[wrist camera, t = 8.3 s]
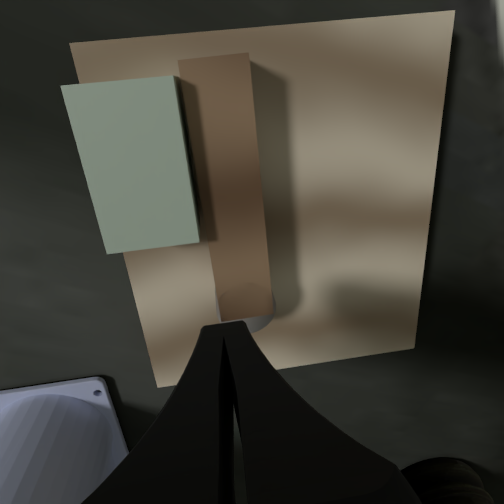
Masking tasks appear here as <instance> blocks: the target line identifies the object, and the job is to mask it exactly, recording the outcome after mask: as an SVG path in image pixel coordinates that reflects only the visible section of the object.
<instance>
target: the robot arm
mask: <svg viewBox="0 0 504 504" xmlns="http://www.w3.org/2000/svg"><path fill="white" fill-rule="evenodd" d="M96 390H100V391H101V392H98V391H96ZM233 403H234V408H235V413H236V418H237V423H238V428H239V433H240V437H241V442H242V448H243V458H244V469H245V479H246V490H247V501H248V504H422V502H421V501H420V499H419V497H418V496H417V494H416V493H415V491H414V490H413V488H412V487H411V485H410V484H409V482H408V481H407V480H406V478H405V477H404V475H403V474H402V473H401V471H400V470H399V469H398V467H397V466H396V465H395V464H393V463H392V462H390V461H388V460H387V459H385V458H383V457H382V456H380V455H378V454H376V453H375V452H373V451H371V450H370V449H368V448H366V447H365V446H363V445H361V444H360V443H358V442H357V441H356V440H354V439H353V438H351V437H350V436H348V435H347V434H345V433H344V432H343V431H341V430H340V429H339V428H337V427H336V426H335V425H334V424H332V423H331V422H330V421H328V420H327V419H326V418H325V417H323V416H322V415H321V414H320V413H318V412H317V411H316V410H315V409H314V408H313V407H311V406H310V405H309V404H308V403H307V402H306V401H305V400H304V399H303V398H302V397H301V396H300V395H299V394H298V393H296V392H295V391H294V390H293V388H292V387H291V386H290V385H289V384H288V383H287V382H286V381H285V380H284V379H283V378H282V376H281V375H280V374H279V373H278V372H277V371H276V369H275V368H274V367H273V366H272V364H271V363H270V362H269V361H268V359H267V358H266V356H265V355H264V354H263V352H262V351H261V350H260V348H259V347H258V345H257V343H256V342H255V340H254V339H253V337H252V335H251V333H250V331H249V329H248V327H247V324H246V323H245V322H244V321H243V320H240V321H233V322H226V323H219V324H212V325H205V326H203V327H202V328H201V330H200V334H199V337H198V340H197V343H196V345H195V348H194V350H193V353H192V355H191V357H190V359H189V361H188V364H187V366H186V368H185V370H184V372H183V374H182V376H181V378H180V379H179V381H178V383H177V385H176V387H175V388H174V390H173V392H172V394H171V396H170V397H169V399H168V400H167V402H166V404H165V405H164V407H163V408H162V410H161V411H160V413H159V414H158V416H157V417H156V419H155V420H154V422H153V423H152V424H151V426H150V427H149V428H148V430H147V431H146V432H145V434H144V435H143V436H142V438H141V439H140V440H139V441H138V443H137V444H136V445H135V446H134V448H133V449H132V450H131V451H130V452H129V451H128V448H127V445H126V442H125V439H124V436H123V433H122V430H121V427H120V424H119V421H118V418H117V415H116V412H115V409H114V406H113V403H112V400H111V397H110V394H109V391H108V388H107V385H106V382H105V380H104V379H103V378H101V377H90V378H84V379H77V380H70V381H64V382H57V383H50V384H44V385H37V386H30V387H23V388H17V389H10V390H3V391H0V504H236V503H235V491H234V418H233Z"/></svg>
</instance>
